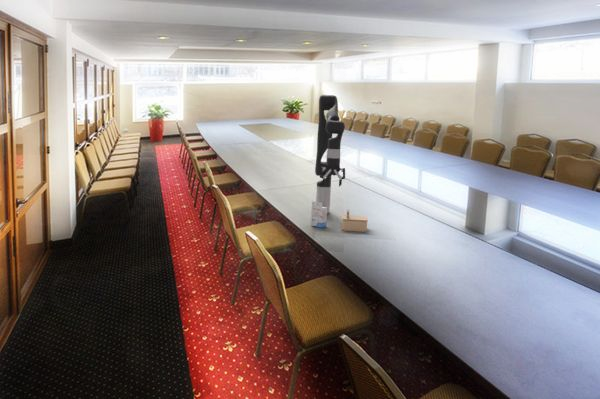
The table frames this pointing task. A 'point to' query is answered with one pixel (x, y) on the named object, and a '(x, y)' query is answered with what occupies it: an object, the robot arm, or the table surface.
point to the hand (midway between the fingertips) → (331, 185)
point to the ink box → (318, 215)
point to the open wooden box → (354, 225)
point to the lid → (354, 217)
